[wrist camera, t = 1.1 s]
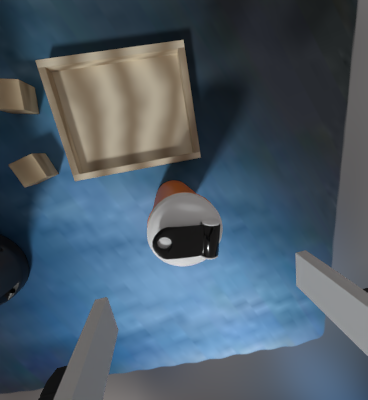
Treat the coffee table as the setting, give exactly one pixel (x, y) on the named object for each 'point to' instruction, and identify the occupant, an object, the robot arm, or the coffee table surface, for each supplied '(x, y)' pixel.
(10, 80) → the oak block
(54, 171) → the oak block
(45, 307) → the coffee table surface
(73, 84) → the tray
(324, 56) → the coffee table surface
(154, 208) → the shaker bottle
